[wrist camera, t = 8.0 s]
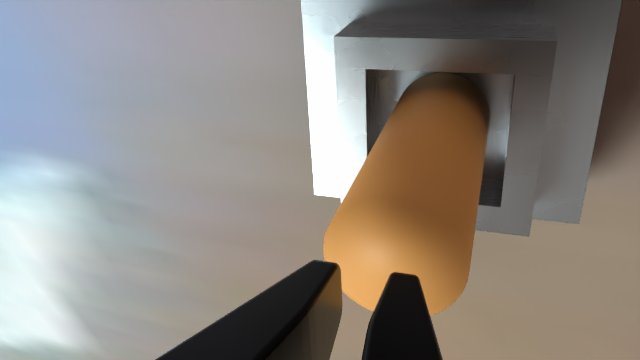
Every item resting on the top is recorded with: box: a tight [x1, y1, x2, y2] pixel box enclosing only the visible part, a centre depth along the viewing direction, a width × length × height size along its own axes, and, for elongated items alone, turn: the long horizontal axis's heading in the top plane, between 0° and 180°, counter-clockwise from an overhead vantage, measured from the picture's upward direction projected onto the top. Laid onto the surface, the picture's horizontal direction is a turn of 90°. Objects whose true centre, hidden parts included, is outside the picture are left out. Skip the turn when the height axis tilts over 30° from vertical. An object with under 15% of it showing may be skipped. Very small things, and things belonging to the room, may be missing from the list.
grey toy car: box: [301, 0, 622, 236], centre depth 16 cm, size 8×12×6 cm, turn 3°
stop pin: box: [323, 72, 490, 315], centre depth 13 cm, size 3×3×7 cm
